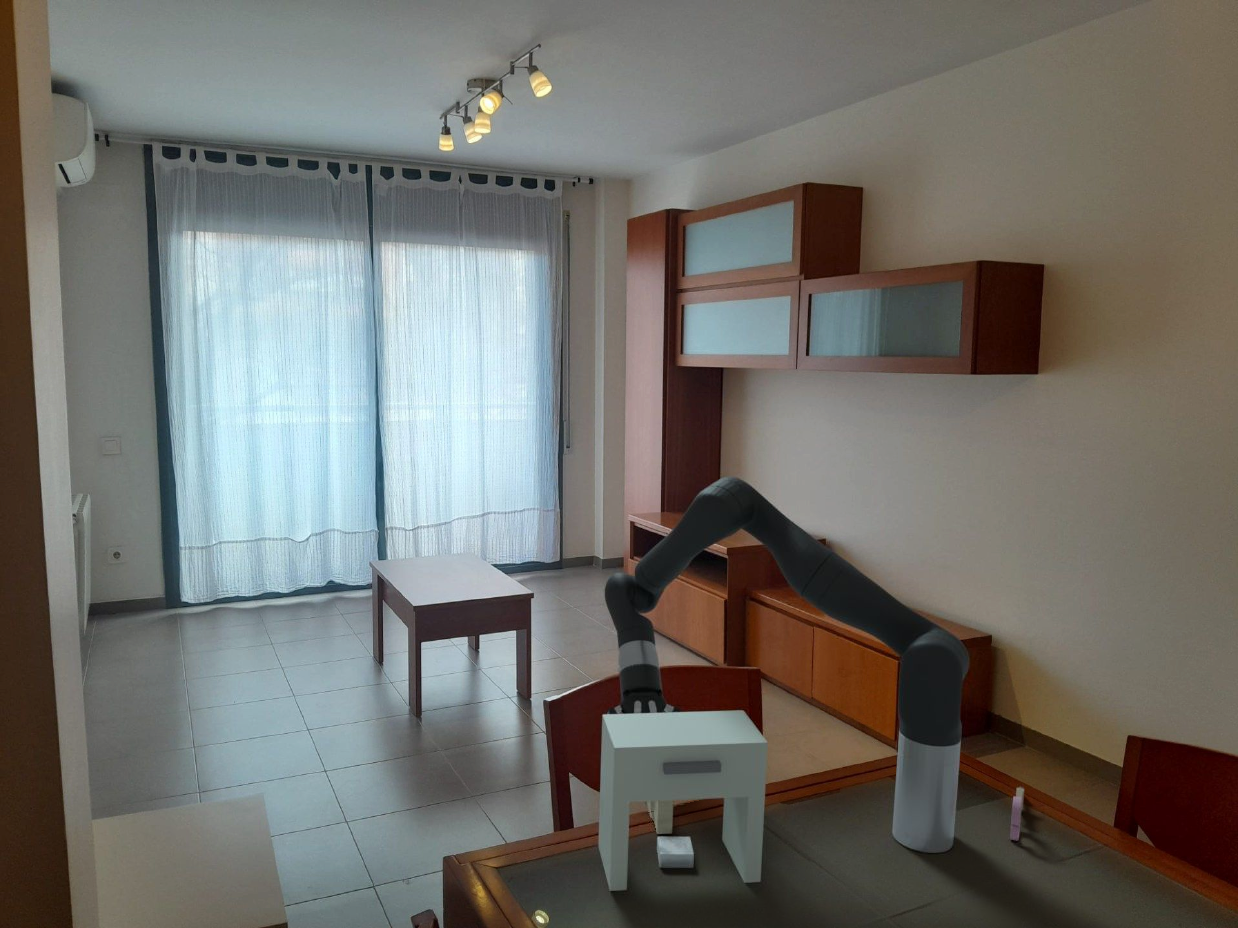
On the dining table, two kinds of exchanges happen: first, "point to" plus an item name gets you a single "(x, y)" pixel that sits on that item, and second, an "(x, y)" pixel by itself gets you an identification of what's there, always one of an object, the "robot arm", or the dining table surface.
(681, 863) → the block
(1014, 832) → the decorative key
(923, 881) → the dining table surface
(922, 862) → the dining table surface
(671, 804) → the beech blade
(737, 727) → the desk
